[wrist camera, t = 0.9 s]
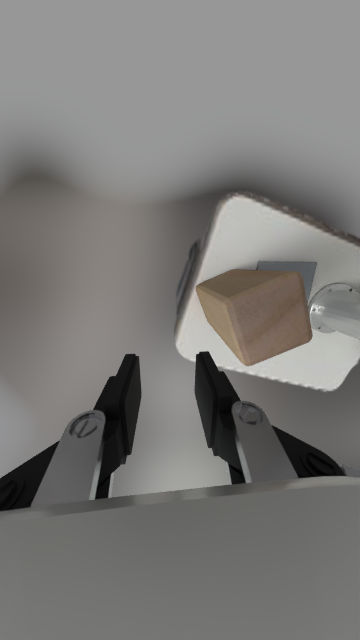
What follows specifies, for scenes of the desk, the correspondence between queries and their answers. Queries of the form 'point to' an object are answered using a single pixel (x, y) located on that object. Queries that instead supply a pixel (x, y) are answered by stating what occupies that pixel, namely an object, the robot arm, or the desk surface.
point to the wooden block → (257, 312)
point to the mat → (302, 267)
